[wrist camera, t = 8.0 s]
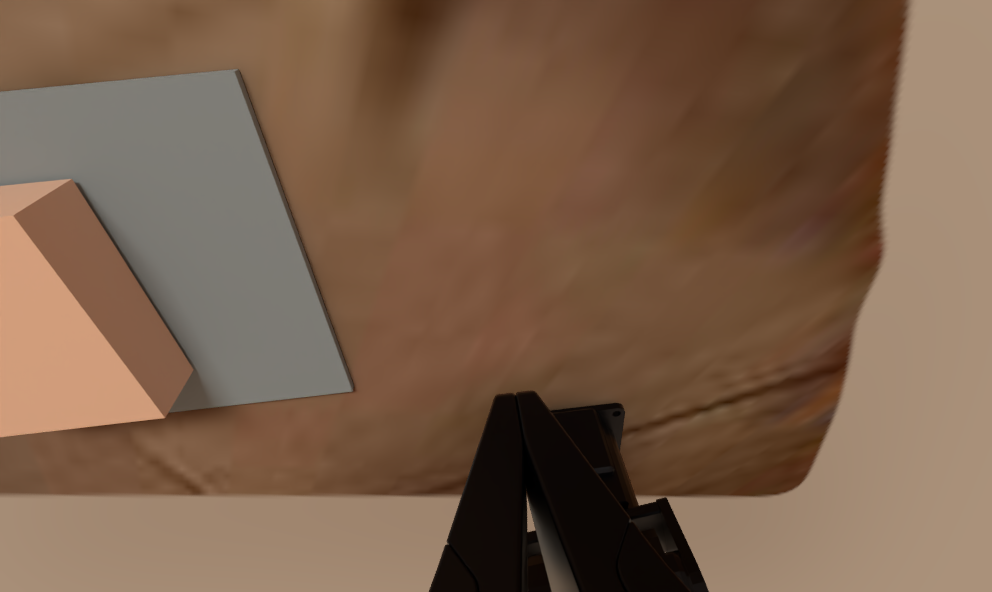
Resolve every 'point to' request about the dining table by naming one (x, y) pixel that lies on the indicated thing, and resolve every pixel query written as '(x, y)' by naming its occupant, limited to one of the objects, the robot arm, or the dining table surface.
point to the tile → (75, 321)
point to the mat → (189, 224)
